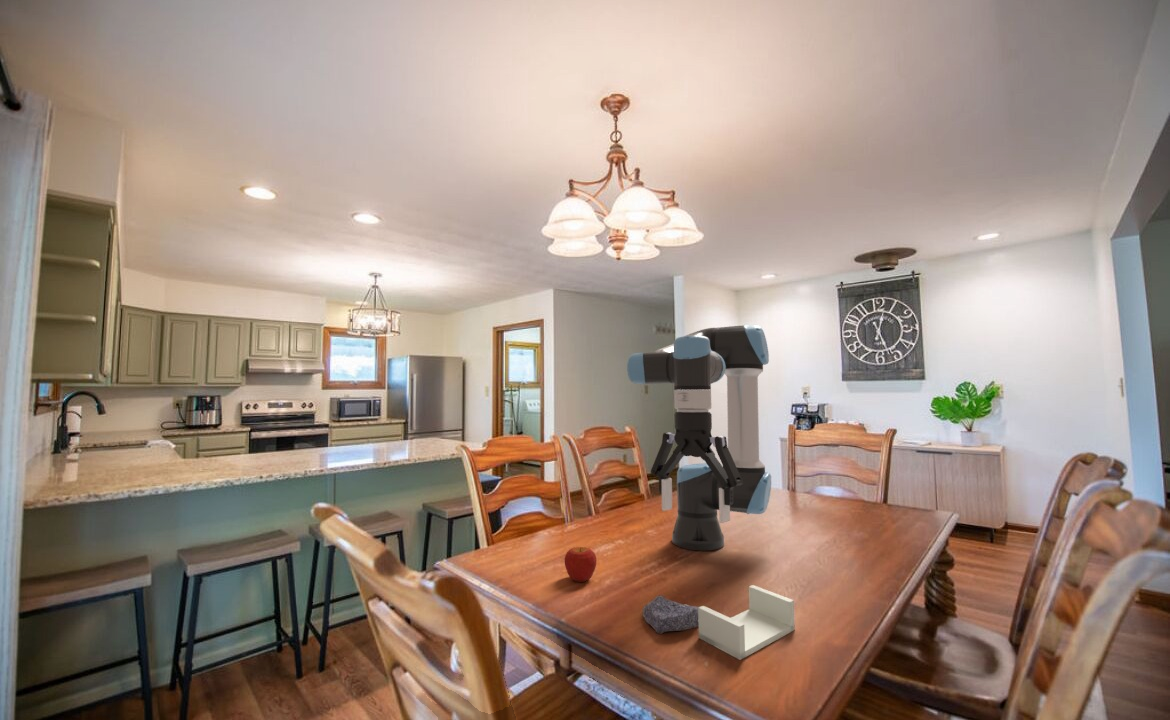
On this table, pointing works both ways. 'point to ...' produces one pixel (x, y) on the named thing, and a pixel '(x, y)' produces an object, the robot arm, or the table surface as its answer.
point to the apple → (580, 563)
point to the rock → (670, 615)
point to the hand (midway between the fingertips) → (694, 515)
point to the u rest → (748, 624)
